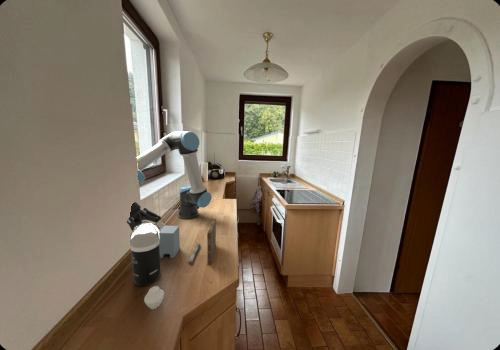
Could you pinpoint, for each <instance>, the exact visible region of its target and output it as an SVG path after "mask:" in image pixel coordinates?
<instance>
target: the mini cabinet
mask: <svg viewBox="0 0 500 350" xmlns="http://www.w3.org/2000/svg"><path fill="white" fill-rule="evenodd" d="M158 231H159V240H160V243H159V247H160V259H163V258H164V256H165V255H169V257H170V258H171V259H173V258H174V259H175V257H176V256H177V255H178V252H179V251H180V248H181V245H180V244H181V243H180V242H181V241H180V225H166V226H164V227H163V228H162V229H161V228H160V230H158Z"/></svg>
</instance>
